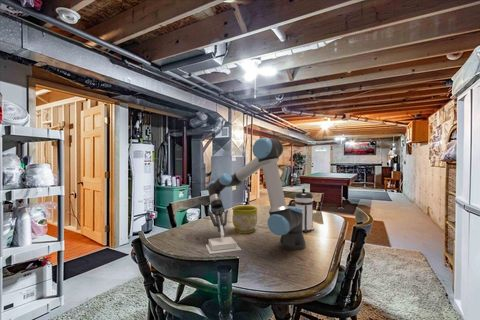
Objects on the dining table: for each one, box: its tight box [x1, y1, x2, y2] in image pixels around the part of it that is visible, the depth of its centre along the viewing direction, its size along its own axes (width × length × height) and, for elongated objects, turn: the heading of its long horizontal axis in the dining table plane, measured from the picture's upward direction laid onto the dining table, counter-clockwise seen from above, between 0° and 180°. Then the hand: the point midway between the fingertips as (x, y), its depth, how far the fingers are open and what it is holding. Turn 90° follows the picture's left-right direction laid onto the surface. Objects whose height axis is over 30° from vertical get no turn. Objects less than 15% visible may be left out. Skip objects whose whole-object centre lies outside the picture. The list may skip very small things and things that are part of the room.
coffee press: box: [288, 188, 315, 234], centre depth 177 cm, size 17×16×30 cm
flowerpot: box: [231, 205, 258, 234], centre depth 176 cm, size 18×18×16 cm
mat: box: [205, 243, 242, 255], centre depth 143 cm, size 14×18×1 cm
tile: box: [207, 236, 238, 251], centre depth 145 cm, size 3×14×12 cm
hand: (222, 236), depth 144 cm, fingers closed
